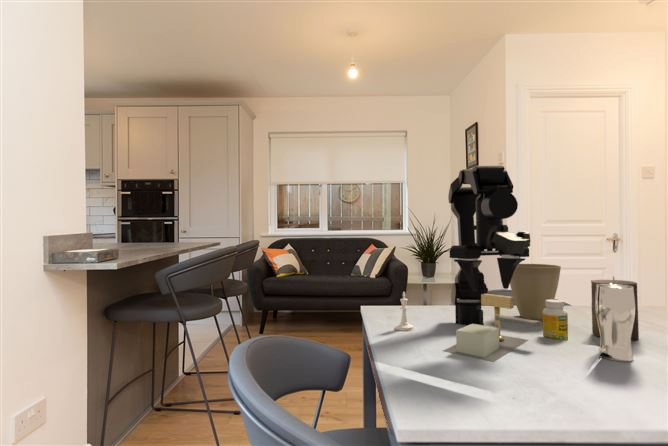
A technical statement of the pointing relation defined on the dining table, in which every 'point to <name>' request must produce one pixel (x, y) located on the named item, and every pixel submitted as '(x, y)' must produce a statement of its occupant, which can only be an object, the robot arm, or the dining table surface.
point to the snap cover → (477, 340)
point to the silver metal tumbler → (615, 320)
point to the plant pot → (534, 288)
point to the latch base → (504, 348)
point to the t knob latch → (504, 302)
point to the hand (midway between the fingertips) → (490, 289)
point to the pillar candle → (594, 319)
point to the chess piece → (404, 316)
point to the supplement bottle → (555, 320)
